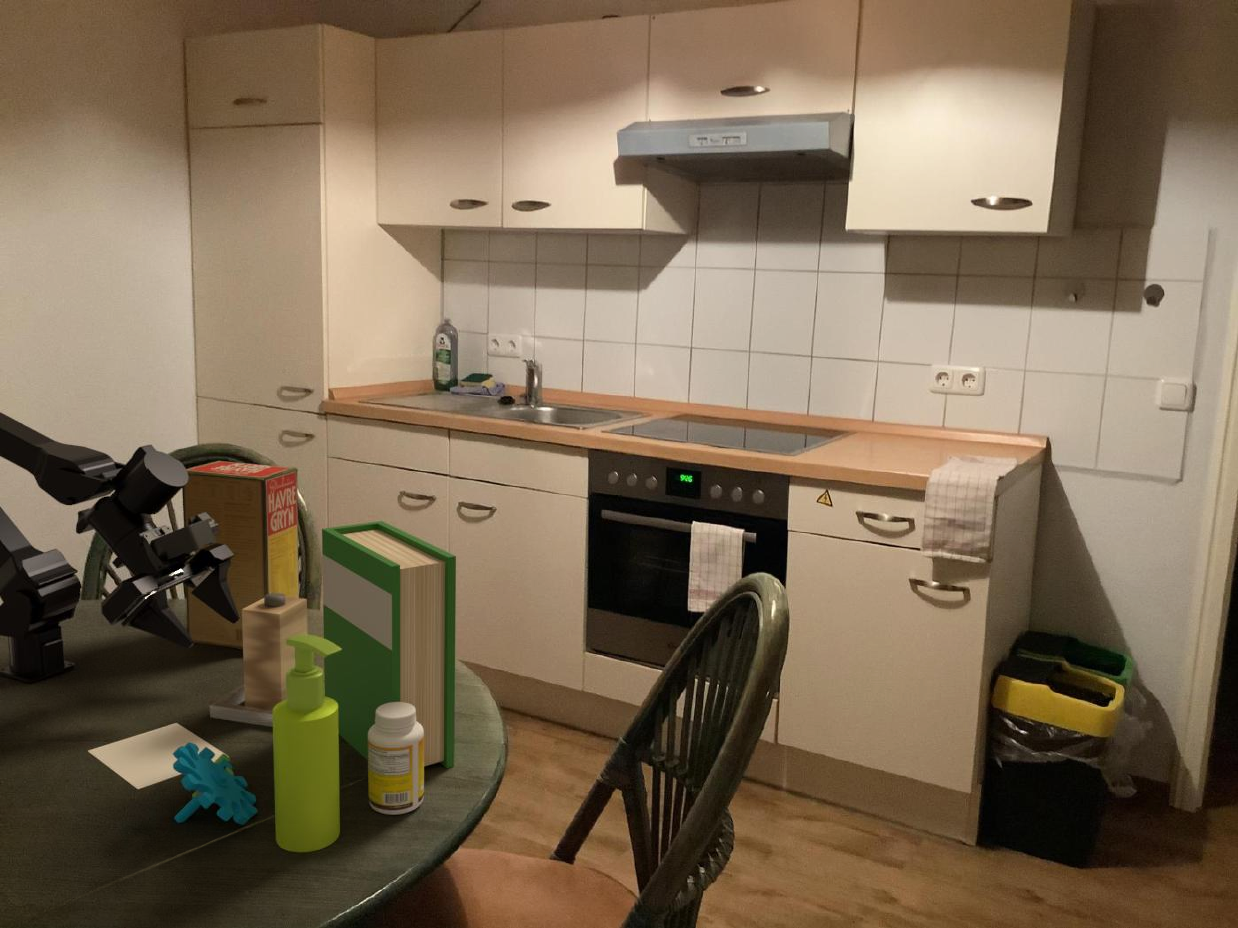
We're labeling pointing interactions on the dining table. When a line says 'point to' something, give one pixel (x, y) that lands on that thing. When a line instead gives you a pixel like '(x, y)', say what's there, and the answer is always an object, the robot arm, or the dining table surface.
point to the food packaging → (244, 538)
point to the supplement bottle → (396, 759)
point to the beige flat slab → (149, 754)
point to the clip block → (270, 647)
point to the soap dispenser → (306, 753)
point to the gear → (213, 785)
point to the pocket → (240, 709)
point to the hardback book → (390, 632)
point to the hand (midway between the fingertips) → (214, 633)
